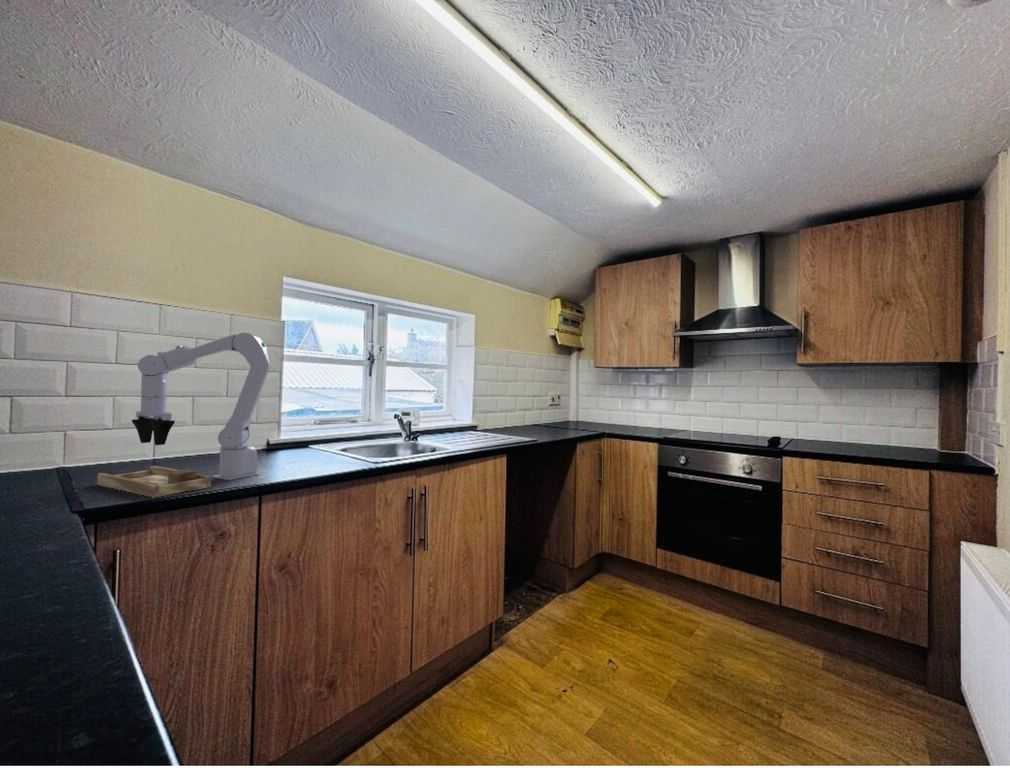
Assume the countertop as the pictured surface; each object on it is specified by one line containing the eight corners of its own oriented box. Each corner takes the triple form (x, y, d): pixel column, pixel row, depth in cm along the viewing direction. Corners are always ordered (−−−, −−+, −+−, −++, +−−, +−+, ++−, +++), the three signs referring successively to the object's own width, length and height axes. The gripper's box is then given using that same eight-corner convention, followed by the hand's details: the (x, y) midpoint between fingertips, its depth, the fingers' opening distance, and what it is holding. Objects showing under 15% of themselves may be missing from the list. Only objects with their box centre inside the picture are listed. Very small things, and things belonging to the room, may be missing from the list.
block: (186, 480, 118) (187, 469, 118) (196, 482, 116) (196, 471, 116) (168, 483, 113) (168, 472, 113) (177, 485, 112) (177, 474, 112)
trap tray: (154, 475, 129) (154, 465, 129) (210, 487, 117) (211, 475, 117) (97, 484, 117) (97, 473, 117) (153, 498, 105) (153, 485, 105)
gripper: (123, 396, 124) (122, 443, 124) (151, 398, 118) (150, 447, 118) (152, 396, 130) (151, 440, 130) (180, 397, 124) (178, 444, 124)
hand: (152, 443), depth 124 cm, fingers open, 7 cm apart
